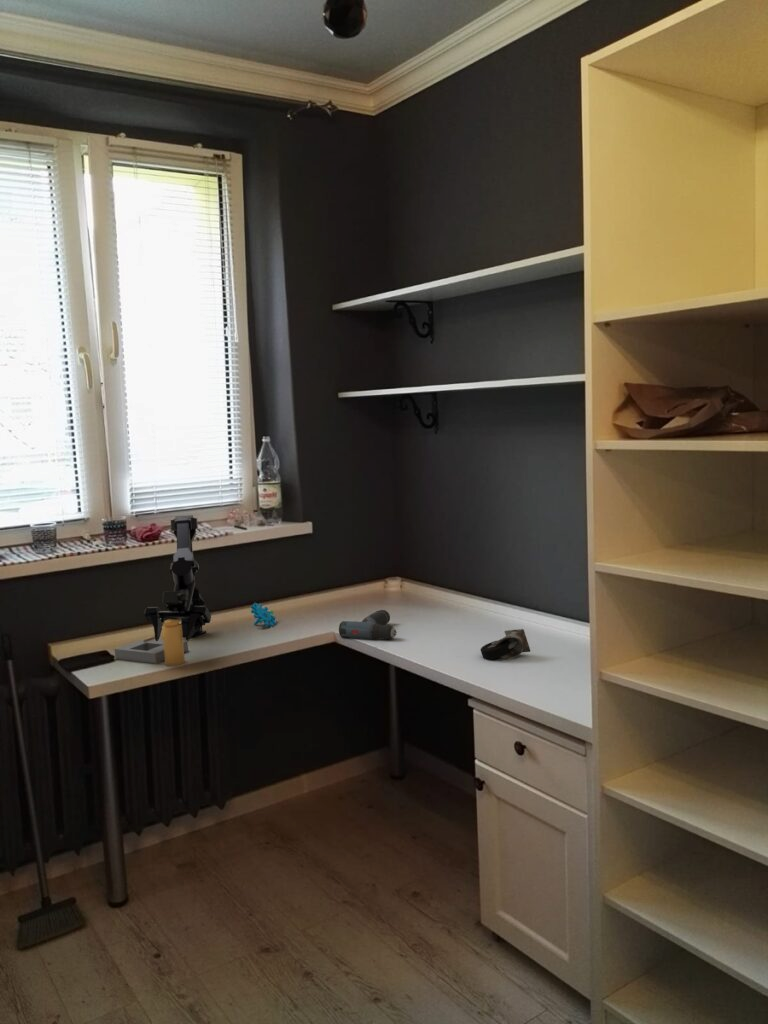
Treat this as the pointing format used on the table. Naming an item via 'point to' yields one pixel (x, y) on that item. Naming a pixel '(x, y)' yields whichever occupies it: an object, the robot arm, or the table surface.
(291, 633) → the table surface
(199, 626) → the robot arm
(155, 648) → the block
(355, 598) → the table surface
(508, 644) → the caster wheel
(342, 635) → the power drill
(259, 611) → the gear
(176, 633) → the yellow cylinder
